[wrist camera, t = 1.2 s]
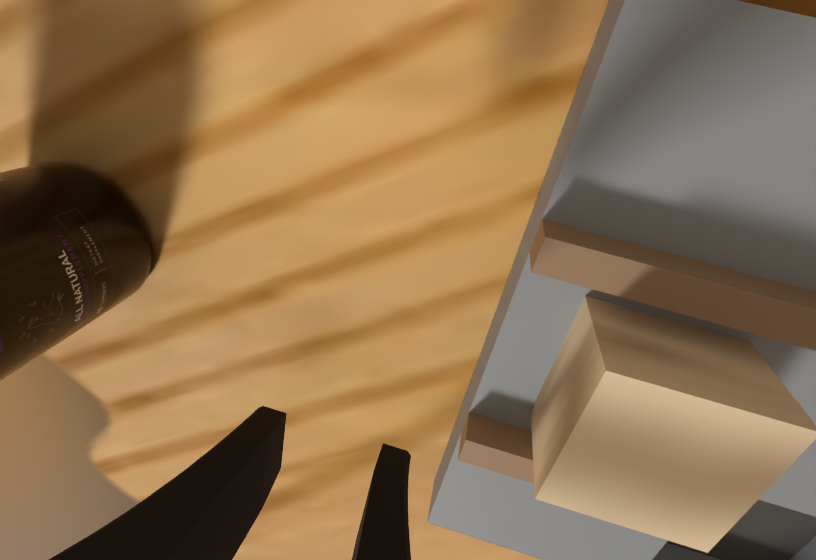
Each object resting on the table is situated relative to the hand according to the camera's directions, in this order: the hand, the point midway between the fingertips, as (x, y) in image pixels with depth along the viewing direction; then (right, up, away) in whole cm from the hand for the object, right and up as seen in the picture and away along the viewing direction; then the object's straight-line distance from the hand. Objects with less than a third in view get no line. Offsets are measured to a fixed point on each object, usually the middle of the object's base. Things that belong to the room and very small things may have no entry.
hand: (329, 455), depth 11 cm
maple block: (+10, +1, +5) cm, 11 cm away
